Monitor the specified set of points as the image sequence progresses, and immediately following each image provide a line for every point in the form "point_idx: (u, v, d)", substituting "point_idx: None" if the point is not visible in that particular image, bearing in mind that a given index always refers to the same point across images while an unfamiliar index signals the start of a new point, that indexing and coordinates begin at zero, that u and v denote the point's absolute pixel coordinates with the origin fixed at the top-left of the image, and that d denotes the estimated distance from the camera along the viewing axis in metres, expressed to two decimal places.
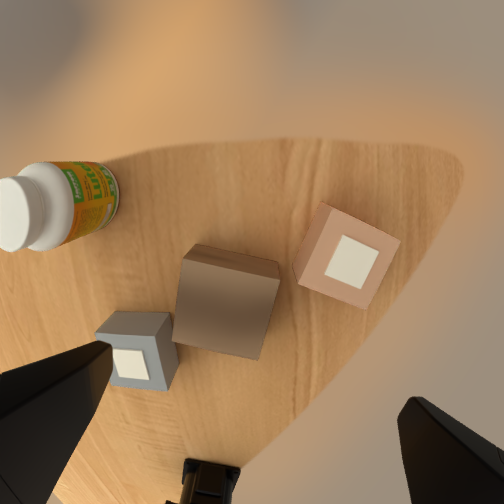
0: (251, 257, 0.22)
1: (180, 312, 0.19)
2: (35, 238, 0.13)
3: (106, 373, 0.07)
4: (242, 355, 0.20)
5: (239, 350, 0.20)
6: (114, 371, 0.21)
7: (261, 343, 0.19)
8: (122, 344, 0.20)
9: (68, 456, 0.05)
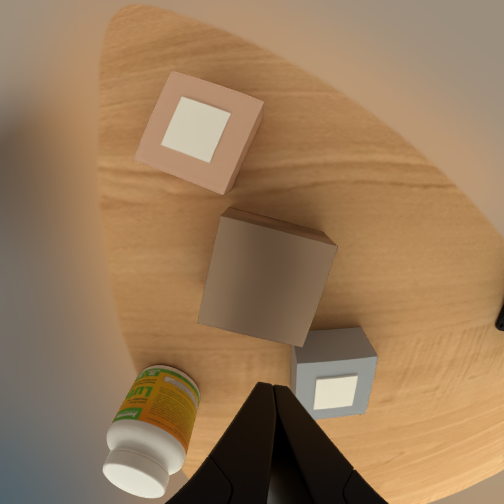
0: None
1: (263, 333, 0.16)
2: (154, 464, 0.13)
3: None
4: (328, 266, 0.15)
5: (319, 269, 0.15)
6: (346, 408, 0.18)
7: (311, 241, 0.15)
8: (309, 397, 0.17)
9: None
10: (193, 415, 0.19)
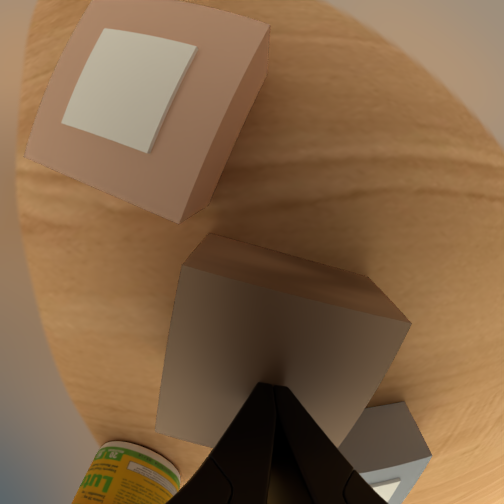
0: None
1: None
2: None
3: None
4: (389, 357, 0.07)
5: (374, 363, 0.07)
6: None
7: (366, 316, 0.07)
8: None
9: None
10: None
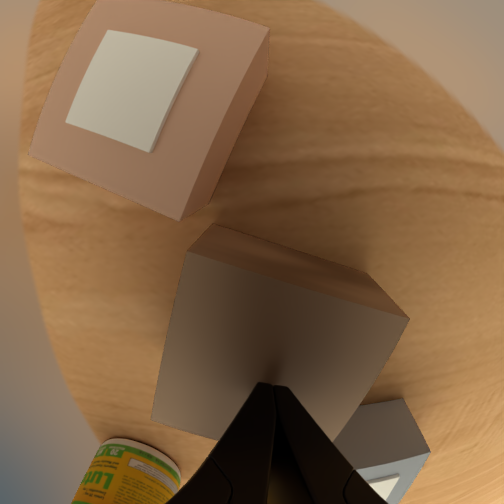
0: None
1: None
2: None
3: None
4: (387, 352, 0.07)
5: (371, 356, 0.08)
6: None
7: (365, 309, 0.07)
8: None
9: None
10: None
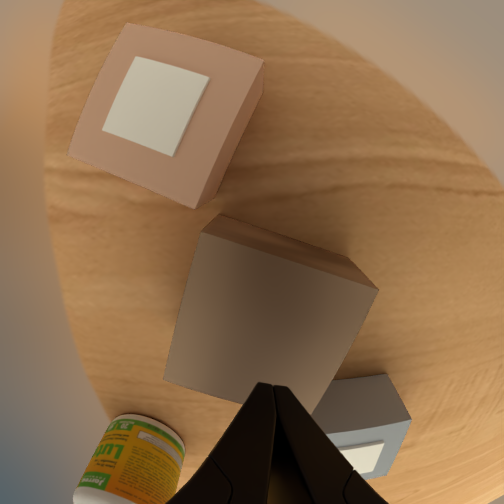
0: None
1: None
2: None
3: None
4: (361, 317, 0.10)
5: (348, 321, 0.10)
6: (364, 473, 0.12)
7: (341, 280, 0.09)
8: None
9: None
10: (175, 476, 0.14)
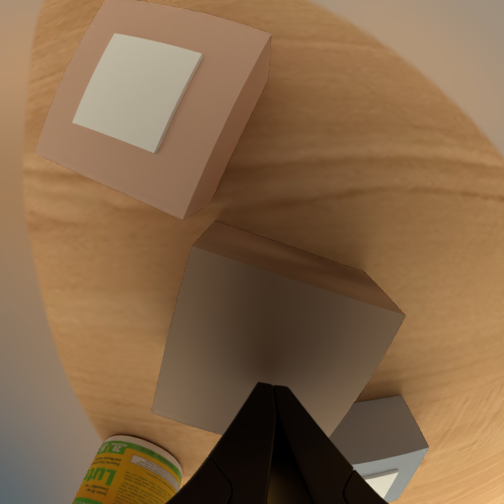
0: None
1: None
2: None
3: None
4: (383, 347, 0.08)
5: (368, 352, 0.08)
6: None
7: (363, 305, 0.07)
8: None
9: None
10: None
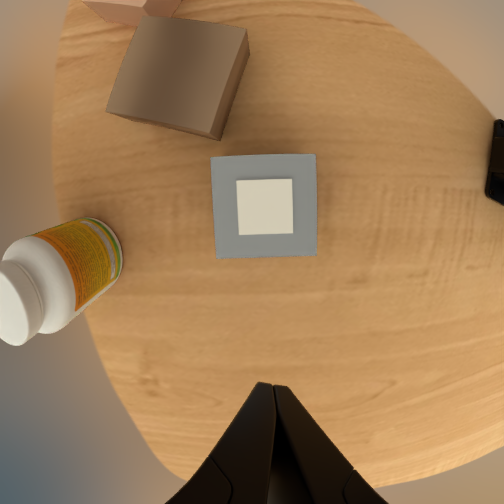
0: None
1: (166, 115, 0.14)
2: (25, 276, 0.11)
3: None
4: (236, 45, 0.12)
5: (227, 47, 0.13)
6: (286, 241, 0.15)
7: (219, 25, 0.12)
8: (231, 213, 0.15)
9: None
10: (103, 263, 0.16)
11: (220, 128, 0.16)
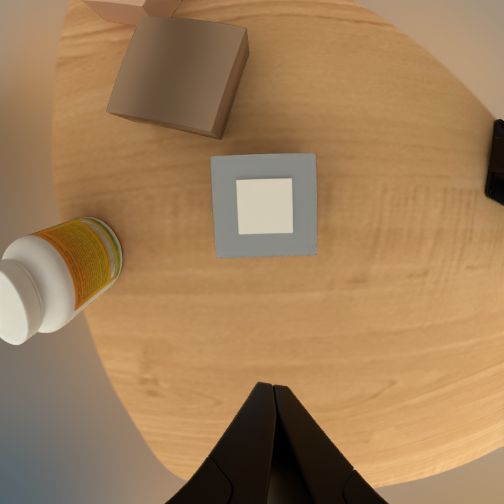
0: None
1: (168, 115, 0.14)
2: (24, 275, 0.11)
3: None
4: (236, 43, 0.12)
5: (227, 46, 0.13)
6: (286, 241, 0.15)
7: (219, 24, 0.12)
8: (231, 213, 0.15)
9: None
10: (102, 262, 0.16)
11: (221, 127, 0.16)
